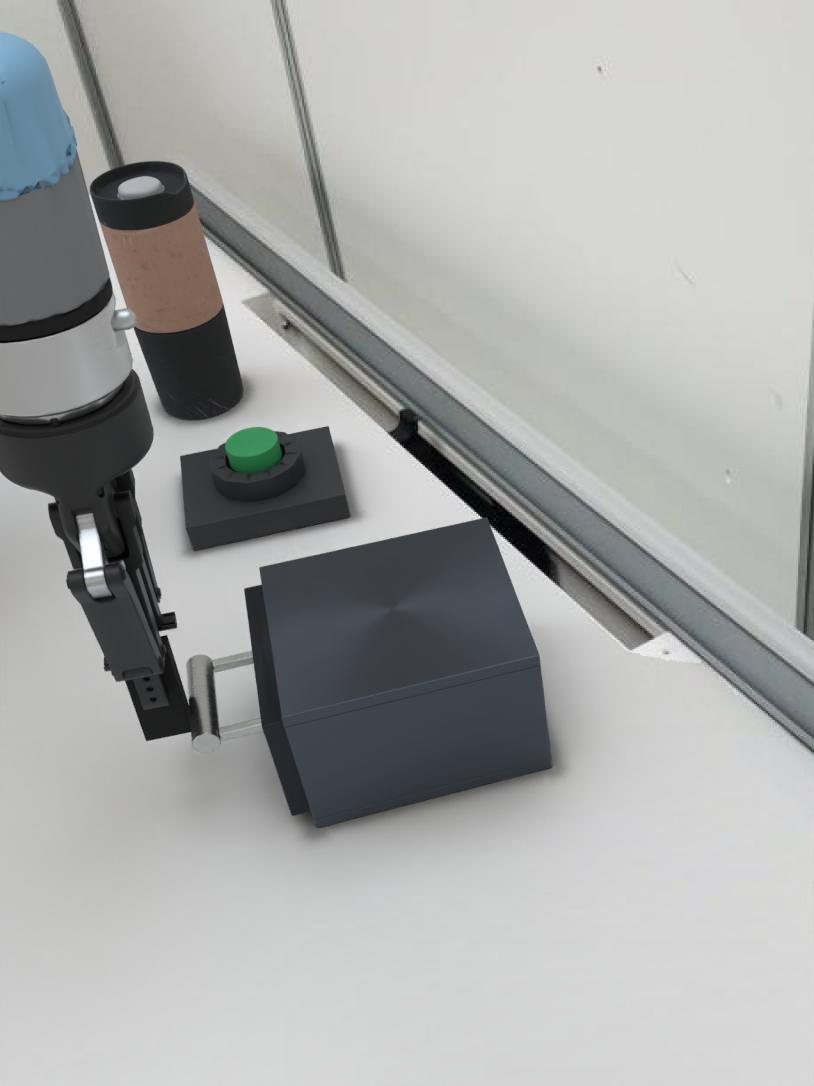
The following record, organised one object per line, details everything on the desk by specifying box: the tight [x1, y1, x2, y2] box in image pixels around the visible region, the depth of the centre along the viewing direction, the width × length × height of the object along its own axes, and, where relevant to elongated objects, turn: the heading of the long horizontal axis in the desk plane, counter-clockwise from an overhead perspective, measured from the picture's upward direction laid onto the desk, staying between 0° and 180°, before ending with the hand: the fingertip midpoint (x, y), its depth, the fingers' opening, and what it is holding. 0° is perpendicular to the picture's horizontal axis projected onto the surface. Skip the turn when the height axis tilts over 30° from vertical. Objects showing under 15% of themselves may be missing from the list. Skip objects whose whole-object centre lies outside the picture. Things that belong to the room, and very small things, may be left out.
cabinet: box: [258, 517, 553, 829], centre depth 79 cm, size 15×14×10 cm
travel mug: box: [89, 160, 244, 421], centre depth 106 cm, size 8×8×20 cm
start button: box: [225, 426, 282, 473], centre depth 98 cm, size 4×4×2 cm
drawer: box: [185, 584, 311, 817], centre depth 78 cm, size 18×12×8 cm
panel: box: [179, 425, 351, 551], centre depth 100 cm, size 12×10×4 cm
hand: (169, 727), depth 76 cm, fingers closed
